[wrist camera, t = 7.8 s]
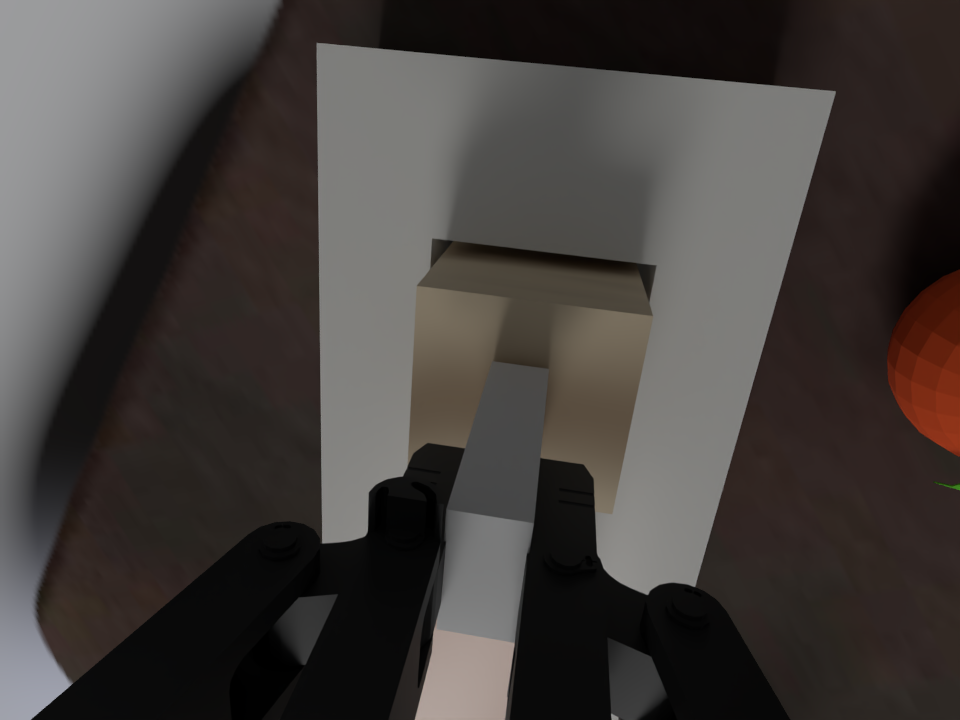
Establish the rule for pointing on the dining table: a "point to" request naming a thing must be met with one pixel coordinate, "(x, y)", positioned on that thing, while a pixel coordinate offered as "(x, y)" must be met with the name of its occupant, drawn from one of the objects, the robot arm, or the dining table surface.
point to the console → (564, 230)
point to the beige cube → (533, 349)
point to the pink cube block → (466, 678)
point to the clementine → (930, 363)
